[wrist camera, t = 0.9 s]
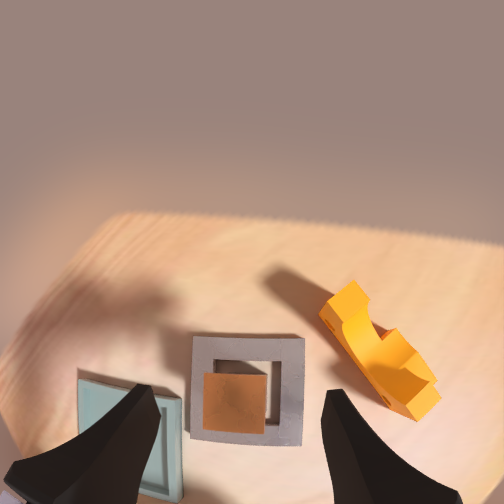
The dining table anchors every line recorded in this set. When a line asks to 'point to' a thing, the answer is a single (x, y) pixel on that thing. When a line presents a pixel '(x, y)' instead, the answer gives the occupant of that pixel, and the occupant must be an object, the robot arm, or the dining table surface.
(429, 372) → the pipe clamp
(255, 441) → the socket
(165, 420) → the tray
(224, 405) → the pin
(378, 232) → the dining table surface
